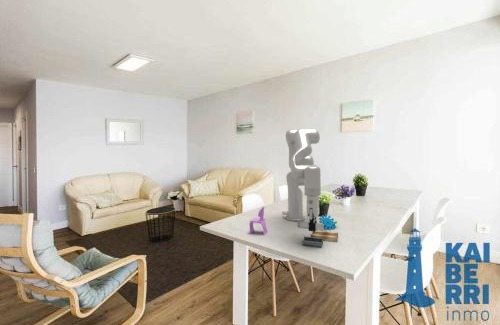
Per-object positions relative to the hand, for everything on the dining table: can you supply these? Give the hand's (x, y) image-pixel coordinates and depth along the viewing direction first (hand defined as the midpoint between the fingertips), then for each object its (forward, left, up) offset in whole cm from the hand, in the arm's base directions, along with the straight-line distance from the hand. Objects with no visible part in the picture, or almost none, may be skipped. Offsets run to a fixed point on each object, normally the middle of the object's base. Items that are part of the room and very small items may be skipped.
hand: (312, 229), depth 121 cm
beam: (+4, +11, -8) cm, 14 cm away
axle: (-1, 0, 0) cm, 1 cm away
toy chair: (-31, +9, -8) cm, 33 cm away
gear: (+5, +28, -8) cm, 30 cm away
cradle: (0, 0, -8) cm, 8 cm away
